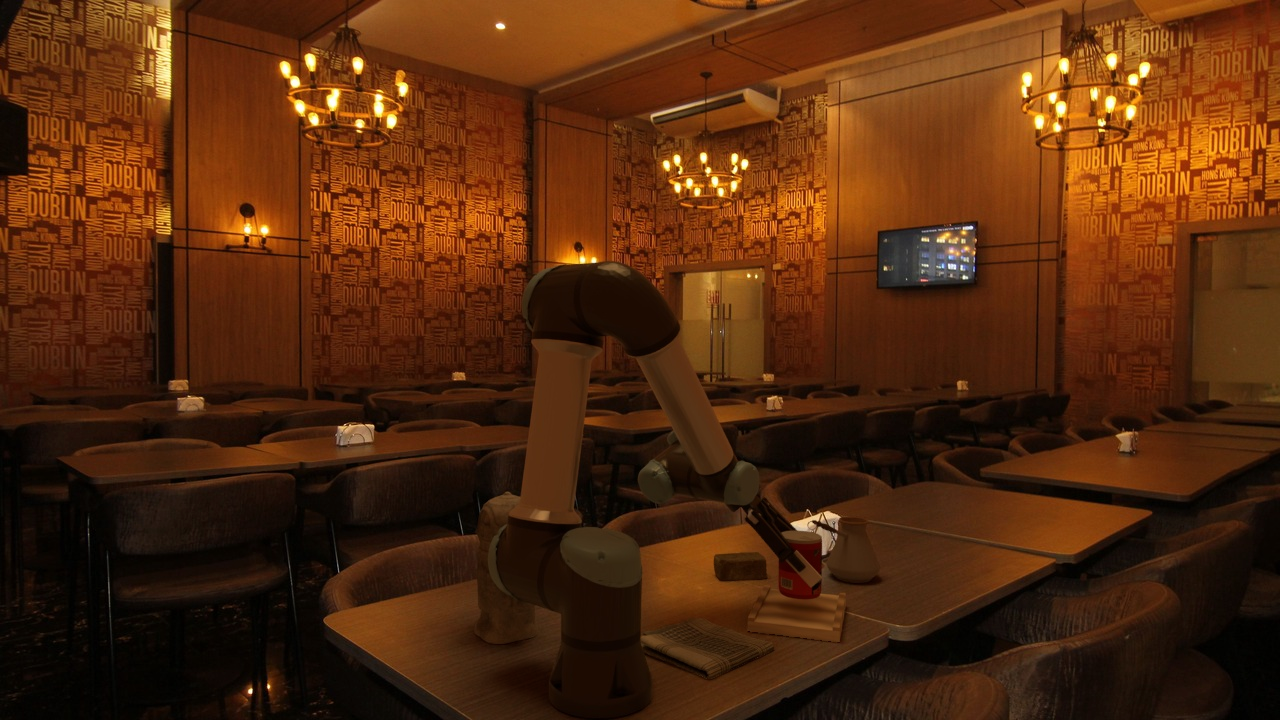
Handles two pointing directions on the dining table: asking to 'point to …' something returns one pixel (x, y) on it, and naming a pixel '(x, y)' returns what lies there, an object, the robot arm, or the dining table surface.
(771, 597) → the board
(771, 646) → the dish towel
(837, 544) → the coffee pot
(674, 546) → the dining table surface
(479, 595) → the figurine
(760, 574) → the stone block
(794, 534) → the canned food
